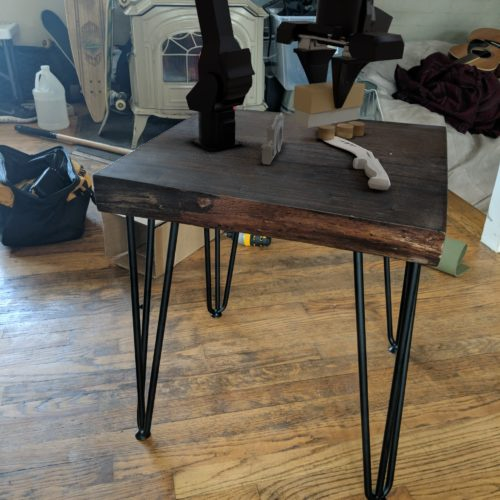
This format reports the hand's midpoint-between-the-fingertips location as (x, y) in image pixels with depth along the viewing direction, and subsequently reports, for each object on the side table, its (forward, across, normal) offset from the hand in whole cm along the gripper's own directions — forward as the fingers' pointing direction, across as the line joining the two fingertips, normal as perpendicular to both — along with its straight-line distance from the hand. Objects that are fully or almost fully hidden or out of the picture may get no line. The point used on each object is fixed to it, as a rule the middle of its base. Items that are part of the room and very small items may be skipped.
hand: (328, 105), depth 72 cm
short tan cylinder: (+10, +12, -16) cm, 22 cm away
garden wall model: (+10, +10, +1) cm, 15 cm away
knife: (+10, +3, -8) cm, 13 cm away
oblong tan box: (+2, 0, 0) cm, 2 cm away
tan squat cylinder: (+9, +12, -12) cm, 19 cm away
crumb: (+10, +12, -19) cm, 25 cm away
